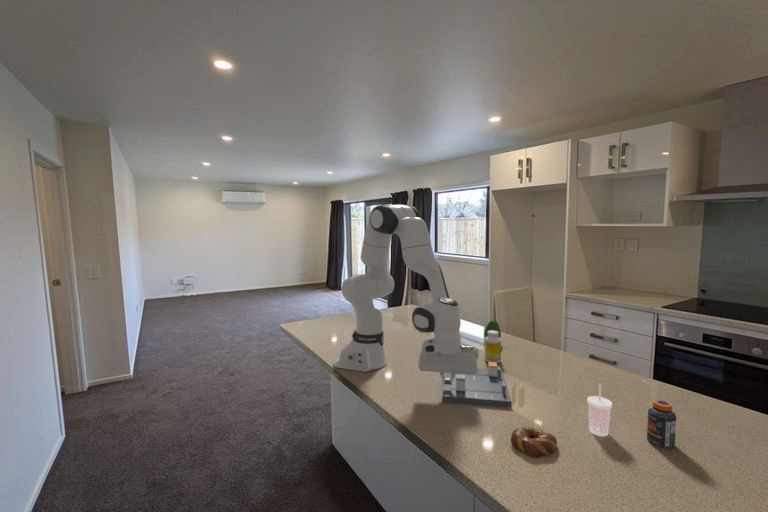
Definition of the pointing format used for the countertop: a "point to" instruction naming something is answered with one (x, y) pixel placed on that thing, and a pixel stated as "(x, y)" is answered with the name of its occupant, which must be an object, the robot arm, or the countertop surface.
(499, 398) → the console
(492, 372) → the fader
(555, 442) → the pretzel
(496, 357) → the supplement bottle
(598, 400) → the beverage cup
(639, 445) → the countertop surface
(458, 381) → the fader
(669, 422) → the pill bottle
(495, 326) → the avocado
